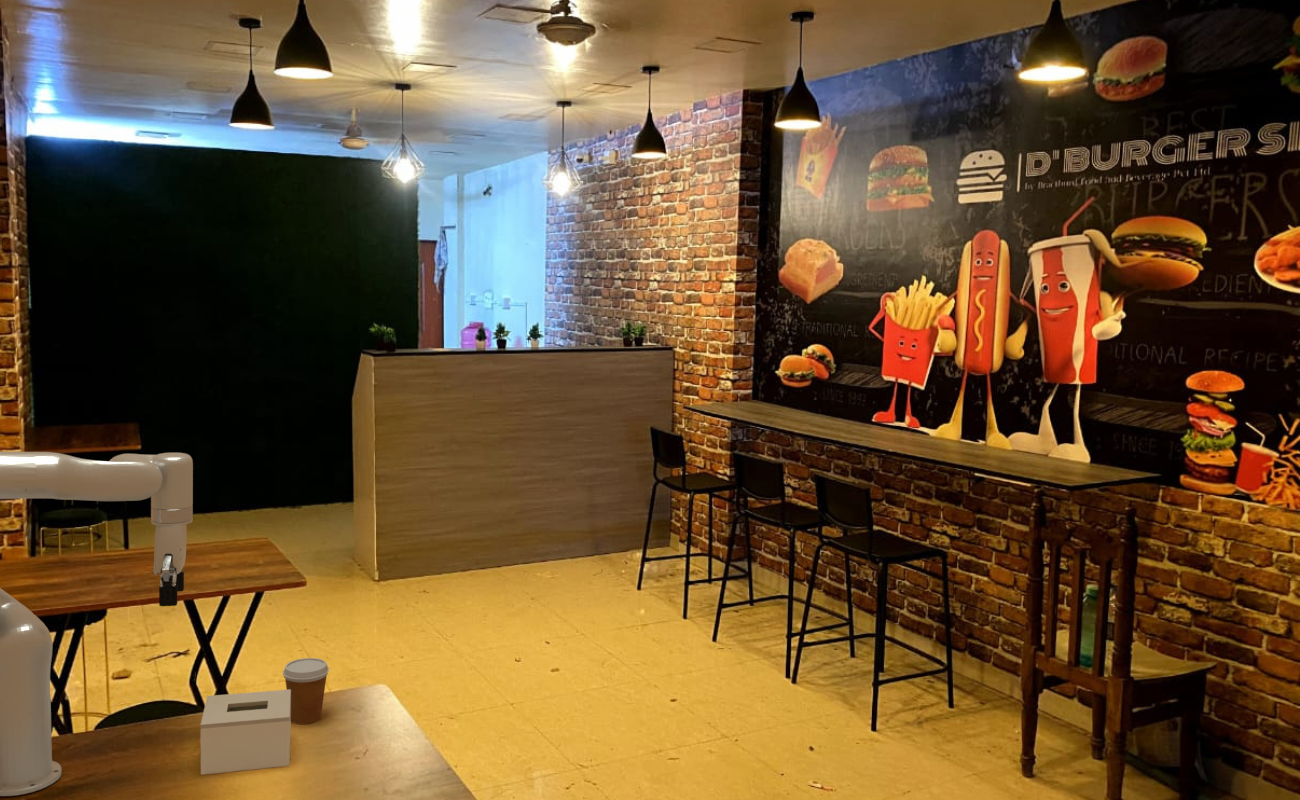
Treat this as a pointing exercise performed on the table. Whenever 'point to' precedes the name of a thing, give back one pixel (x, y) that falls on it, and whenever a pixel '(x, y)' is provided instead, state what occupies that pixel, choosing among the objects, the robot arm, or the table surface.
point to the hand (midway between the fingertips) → (171, 598)
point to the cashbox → (246, 731)
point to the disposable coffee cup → (306, 688)
